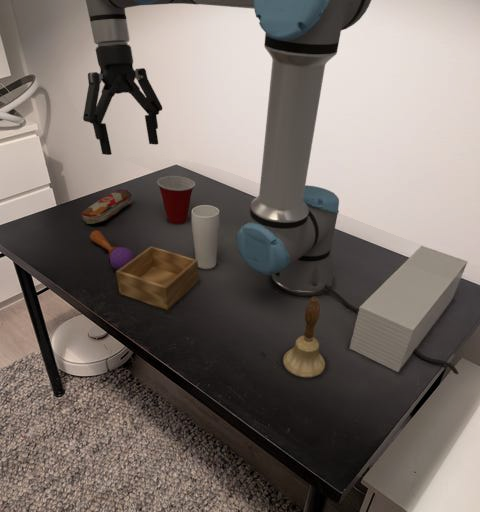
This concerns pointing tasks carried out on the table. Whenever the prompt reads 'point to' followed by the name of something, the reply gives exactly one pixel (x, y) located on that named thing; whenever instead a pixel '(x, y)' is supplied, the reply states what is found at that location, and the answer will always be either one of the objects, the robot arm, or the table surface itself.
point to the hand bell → (306, 347)
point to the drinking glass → (205, 235)
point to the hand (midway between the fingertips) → (131, 149)
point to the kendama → (113, 251)
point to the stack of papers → (406, 307)
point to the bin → (158, 277)
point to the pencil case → (107, 207)
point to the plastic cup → (176, 197)
